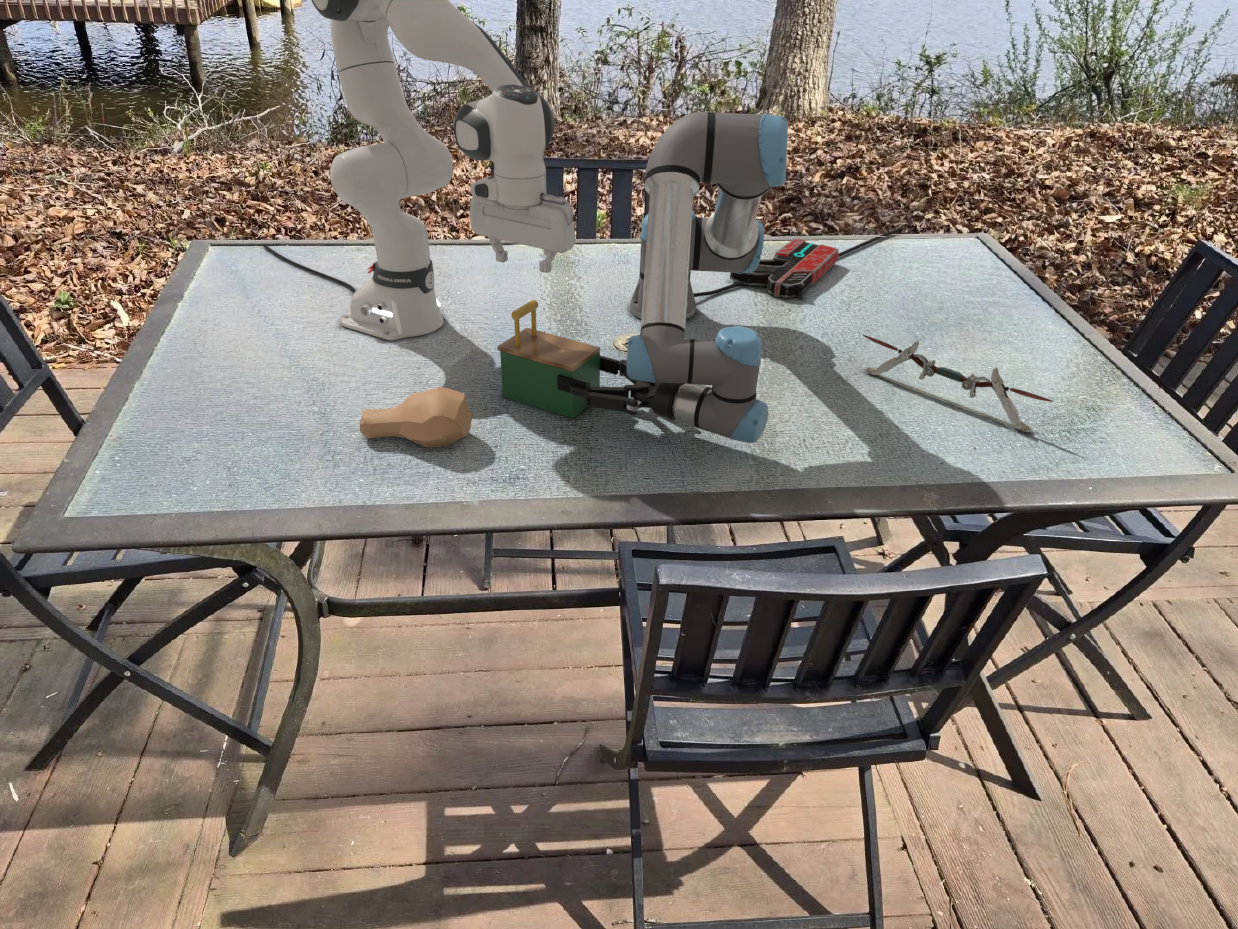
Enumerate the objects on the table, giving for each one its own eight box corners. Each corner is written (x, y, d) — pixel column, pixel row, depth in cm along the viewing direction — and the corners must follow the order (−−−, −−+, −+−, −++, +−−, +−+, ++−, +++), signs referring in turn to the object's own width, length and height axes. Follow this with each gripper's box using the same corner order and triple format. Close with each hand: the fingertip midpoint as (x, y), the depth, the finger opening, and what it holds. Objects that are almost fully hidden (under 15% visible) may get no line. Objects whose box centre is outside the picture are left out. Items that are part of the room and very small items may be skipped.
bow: (1043, 434, 162) (1060, 387, 156) (1039, 438, 161) (1056, 390, 155) (858, 366, 183) (867, 322, 178) (854, 369, 182) (862, 324, 177)
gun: (726, 267, 216) (800, 286, 208) (775, 231, 238) (843, 246, 230) (724, 284, 219) (797, 304, 211) (772, 247, 241) (840, 263, 233)
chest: (502, 396, 169) (500, 351, 164) (531, 376, 177) (529, 332, 171) (573, 418, 163) (572, 372, 158) (599, 396, 170) (600, 351, 165)
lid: (497, 350, 164) (495, 311, 160) (527, 331, 171) (525, 293, 167) (572, 372, 158) (572, 331, 153) (600, 351, 165) (600, 312, 160)
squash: (473, 454, 152) (461, 415, 146) (361, 463, 154) (345, 424, 148) (480, 414, 160) (469, 375, 154) (374, 422, 162) (359, 384, 155)
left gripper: (582, 194, 148) (582, 272, 156) (483, 175, 156) (488, 250, 164) (562, 204, 144) (563, 283, 151) (462, 183, 152) (467, 260, 159)
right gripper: (650, 448, 149) (540, 413, 158) (705, 393, 165) (602, 364, 174) (652, 410, 145) (539, 376, 154) (708, 357, 161) (603, 330, 170)
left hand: (523, 266), depth 158 cm, fingers open, 8 cm apart
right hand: (573, 370), depth 164 cm, fingers closed on chest, 10 cm apart
